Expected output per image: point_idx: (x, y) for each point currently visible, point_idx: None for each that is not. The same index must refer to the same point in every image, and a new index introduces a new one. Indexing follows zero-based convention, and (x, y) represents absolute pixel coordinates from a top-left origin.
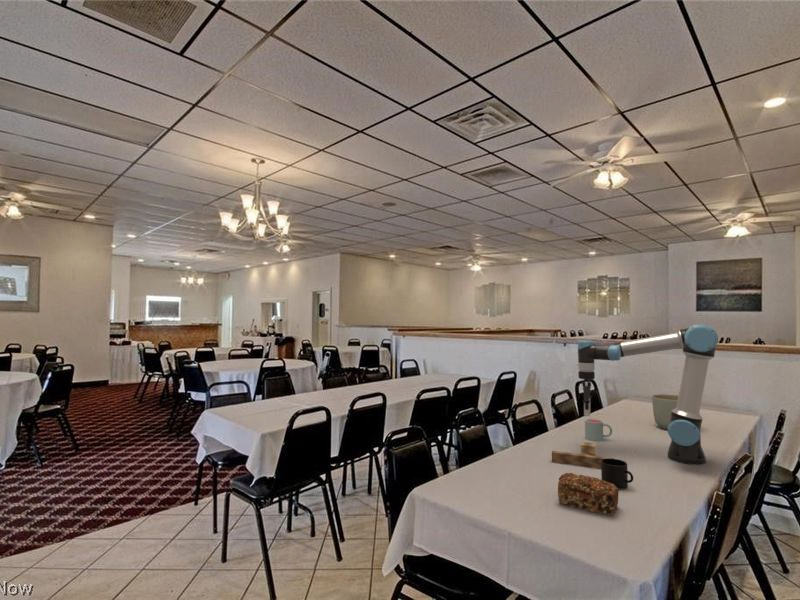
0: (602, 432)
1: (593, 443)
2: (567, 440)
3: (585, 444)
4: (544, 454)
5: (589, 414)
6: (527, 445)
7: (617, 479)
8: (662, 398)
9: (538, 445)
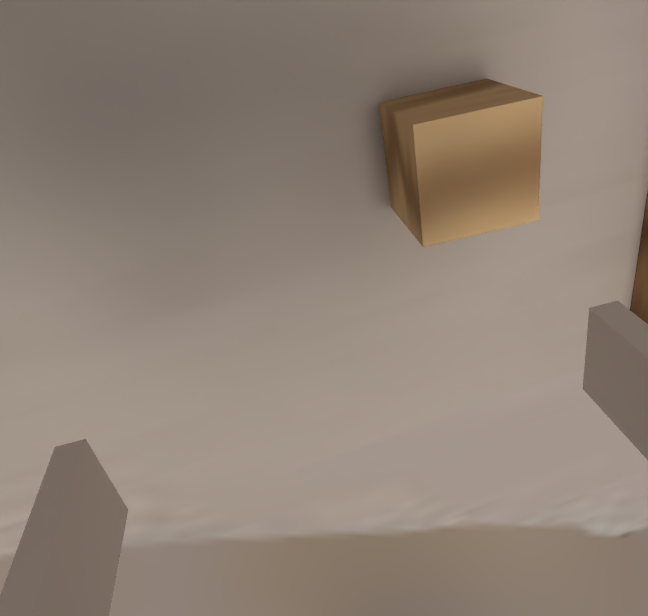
0: None
1: (430, 137)
2: (79, 402)
3: (503, 193)
4: (528, 385)
5: (637, 327)
6: (392, 509)
7: None
8: None
9: (354, 474)
